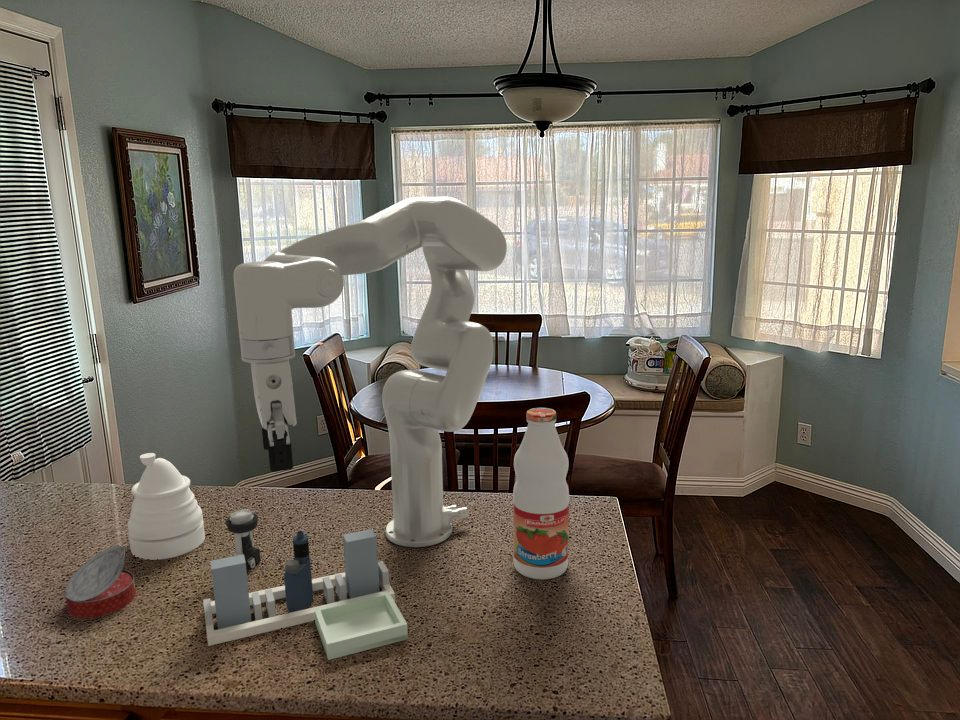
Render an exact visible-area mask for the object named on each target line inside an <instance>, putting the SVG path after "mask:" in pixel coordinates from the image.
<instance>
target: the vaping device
mask: <svg viewBox="0 0 960 720" xmlns="http://www.w3.org/2000/svg"><path fill="white" fill-rule="evenodd" d="M309 545H310V544H309V536H308V535H307V534H304V531H303V530H298V531H296V535H294V536H293V537H292V547H293V559H290V560H288V561H286V563H285V568H284V574H283V579H284V585H285V593H286V598H285V602H286V610H287V611H288V613H291V612H296V611H300V610H304V609H307V608H308V606H310V605H311V604H312V603H313V602H314V593H313V592H314V591H313V589H312V579H313V578H312V564H311V558H310V546H309Z"/></svg>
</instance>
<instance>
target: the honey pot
mask: <svg viewBox="0 0 960 720" xmlns="http://www.w3.org/2000/svg"><path fill="white" fill-rule="evenodd" d="M139 458H140V462H141V463H142V465H144V466H146V468H145V469H144V471H143V473H142V475H141V478H140V480H139V481H138V482H136V483H135V484H134V485H133V486H132V487H131V491H130V493H131V495H132V496H133V497H134V498H133V502H132V504H131V507H130V508H131V510H130V513H129V518H128V522H127V532H128V539H129V548H130V553H131V554H132V555H133V556H134V555H135V556H134V557H135V558H137V557H139V558H138V559H141V558H143V559H142V560H147V559H150V560H152V561H155V560H156V561H157V559H158V560H166V559H167V560H168V559H171V558H176V557H179V556H182V555H185V554H187V553H190V552H192V551H193V550H196V549H197V548H199V547H200V546H201V545H202V544H203V543H204V541H205V538H206V534H205V533H206V532H205V525H204V517H203V510H202V508H201V507H200V505H198V501H197V499H196V498H195V494H194V492H193V491H192V490H191V489H190V486H191V479H190V478H189V477H188V476H186V475H184V474H183V475H182V474H181V473H180V472H179V470H178V469H177V468H176V467H175V466H174V464H173V463H171V462H170V461H168V459H165V458H162V457H158V458H156V453H154V452H147V453H143V454H141V455H139Z"/></svg>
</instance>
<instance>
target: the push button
mask: <svg viewBox="0 0 960 720" xmlns="http://www.w3.org/2000/svg"><path fill="white" fill-rule="evenodd" d="M258 521H259V516H258V514H256V513H254V512H253V511H252V510H251V509H248V508H247V509H238V510H235V511H232V512H231V514H230V516H228V517H227V518H226V519H225V525H226V527H227V531H228V532H230V533H232V534H233V535H234V545H235V549H234V550H235V556H237V555H243V554H244V558H245V562H246V571H248V570H249V569H253V568H255V566H256V564H259V563H260V562H261V552H260V551H261V549H260V548H258V547H255V544H254V538H253V530H255V529H256V528H257V527H258Z"/></svg>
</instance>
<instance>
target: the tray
mask: <svg viewBox="0 0 960 720" xmlns="http://www.w3.org/2000/svg"><path fill="white" fill-rule="evenodd" d="M314 615H315V621H314V623H315V627H316V630H317V633H318V636H319V639H320V641H321V645H322V646H323V649H324V653H325V655H326V658H327V660H328V661H330V660H334V659H338V658H342V657H346V656H349V655H353V654H357V653H360V652H364V651H367V650H368V651H369V650H372V649H376V648H379V647H384V646H387V645H391V644H396V643H400V642H402V641H406V640H409V637H408V636H409V633H408V632H409V631H408V623H407V621H406V620H405V617H404V615H403V614H402V612H401V611H400V609H399V607H398V605H397V604H396V601H394V600H393V598H392V596H391V595H390V593H389V591H388V592H383V593H379V594H375V595H371V596H366V597H362V598H358V599H353V600H349V601H345V602H341V603H336V604H332V605H328V606H323V607H319V608H315V609H314Z"/></svg>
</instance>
